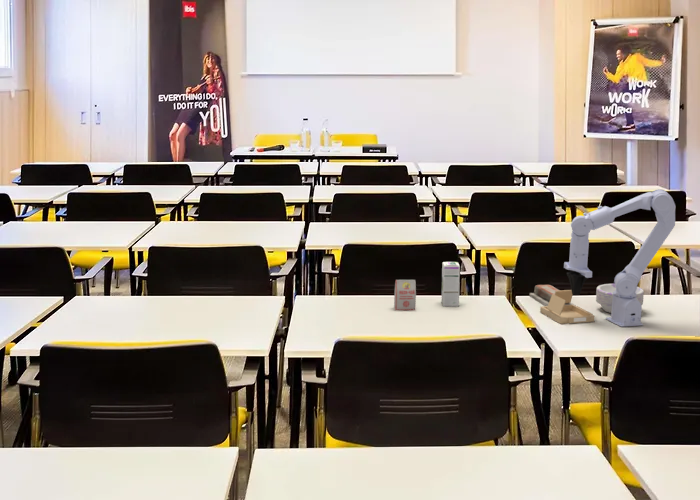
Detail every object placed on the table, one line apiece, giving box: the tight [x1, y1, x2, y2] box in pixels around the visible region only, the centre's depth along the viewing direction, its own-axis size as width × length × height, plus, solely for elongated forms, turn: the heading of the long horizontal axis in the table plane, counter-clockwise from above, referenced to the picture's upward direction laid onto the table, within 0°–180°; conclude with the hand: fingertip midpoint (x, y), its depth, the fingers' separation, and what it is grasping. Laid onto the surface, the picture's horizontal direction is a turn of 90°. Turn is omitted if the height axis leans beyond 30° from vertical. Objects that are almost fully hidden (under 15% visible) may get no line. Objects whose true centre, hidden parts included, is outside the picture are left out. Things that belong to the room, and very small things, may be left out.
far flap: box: [555, 289, 574, 303], centre depth 283 cm, size 1×6×5 cm, turn 105°
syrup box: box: [441, 261, 461, 307], centre depth 291 cm, size 6×6×14 cm
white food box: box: [393, 279, 417, 311], centre depth 285 cm, size 4×7×10 cm, turn 93°
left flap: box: [547, 294, 566, 315], centre depth 274 cm, size 8×1×5 cm, turn 15°
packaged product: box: [529, 284, 577, 306], centre depth 297 cm, size 18×5×10 cm
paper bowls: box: [595, 283, 645, 314], centre depth 285 cm, size 15×15×8 cm
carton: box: [539, 304, 596, 325], centre depth 278 cm, size 15×12×2 cm
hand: (575, 294), depth 275 cm, fingers closed
